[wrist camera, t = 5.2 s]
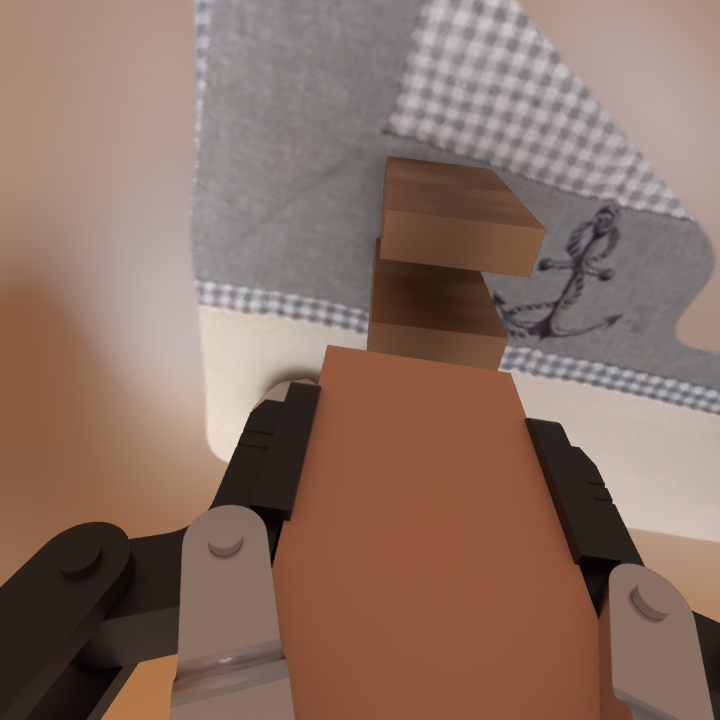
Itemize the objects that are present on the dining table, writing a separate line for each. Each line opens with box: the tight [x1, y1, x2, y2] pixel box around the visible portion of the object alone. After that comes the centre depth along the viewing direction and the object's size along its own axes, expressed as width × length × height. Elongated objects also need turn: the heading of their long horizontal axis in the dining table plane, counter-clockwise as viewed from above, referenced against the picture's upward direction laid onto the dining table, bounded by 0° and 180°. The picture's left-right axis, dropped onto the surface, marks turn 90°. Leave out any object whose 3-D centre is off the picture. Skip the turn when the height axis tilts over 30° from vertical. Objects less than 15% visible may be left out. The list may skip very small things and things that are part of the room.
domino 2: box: [367, 238, 508, 371], centre depth 20 cm, size 5×2×9 cm, turn 84°
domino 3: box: [272, 345, 600, 720], centre depth 9 cm, size 5×2×9 cm, turn 82°
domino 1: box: [380, 156, 546, 277], centre depth 18 cm, size 5×2×9 cm, turn 84°
